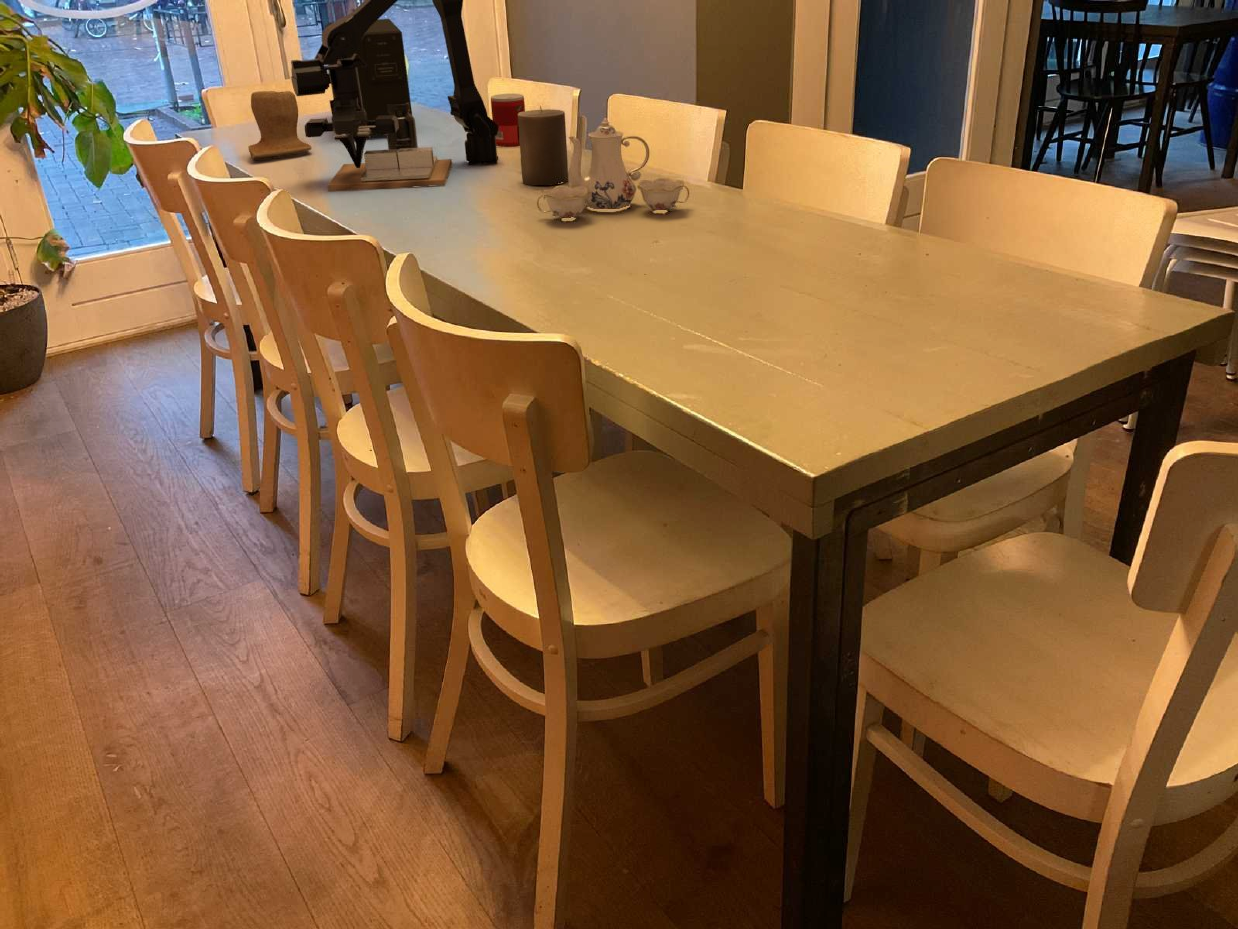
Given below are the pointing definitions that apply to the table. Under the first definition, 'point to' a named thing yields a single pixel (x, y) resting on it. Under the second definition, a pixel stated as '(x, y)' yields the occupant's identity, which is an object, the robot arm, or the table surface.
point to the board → (352, 176)
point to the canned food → (507, 117)
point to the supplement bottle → (402, 127)
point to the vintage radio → (381, 70)
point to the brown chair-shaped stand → (276, 125)
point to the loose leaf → (389, 167)
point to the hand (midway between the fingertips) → (358, 167)
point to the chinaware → (608, 179)
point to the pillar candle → (543, 147)
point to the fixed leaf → (417, 158)
